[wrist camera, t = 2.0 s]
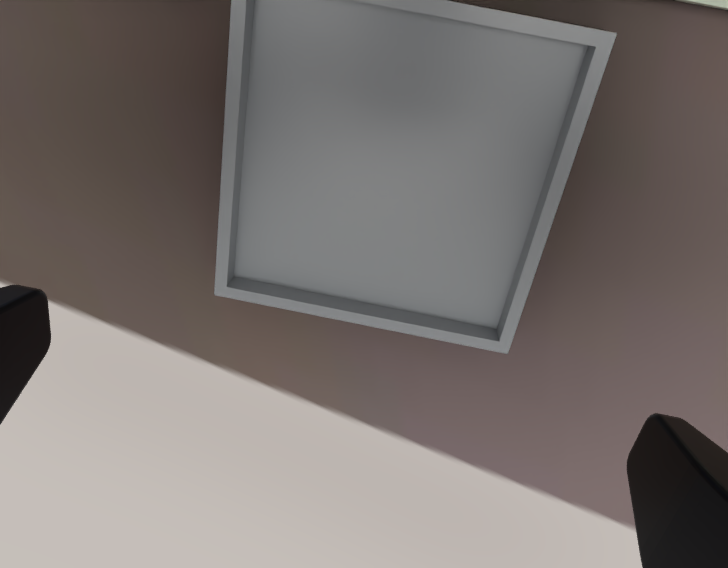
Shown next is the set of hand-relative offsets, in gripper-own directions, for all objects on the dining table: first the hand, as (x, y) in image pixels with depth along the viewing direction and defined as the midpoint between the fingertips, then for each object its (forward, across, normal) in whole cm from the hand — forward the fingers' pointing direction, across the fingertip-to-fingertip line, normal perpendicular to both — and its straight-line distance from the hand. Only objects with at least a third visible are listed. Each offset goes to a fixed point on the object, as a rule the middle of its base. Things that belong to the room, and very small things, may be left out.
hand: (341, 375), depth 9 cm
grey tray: (+11, 0, 0) cm, 11 cm away
